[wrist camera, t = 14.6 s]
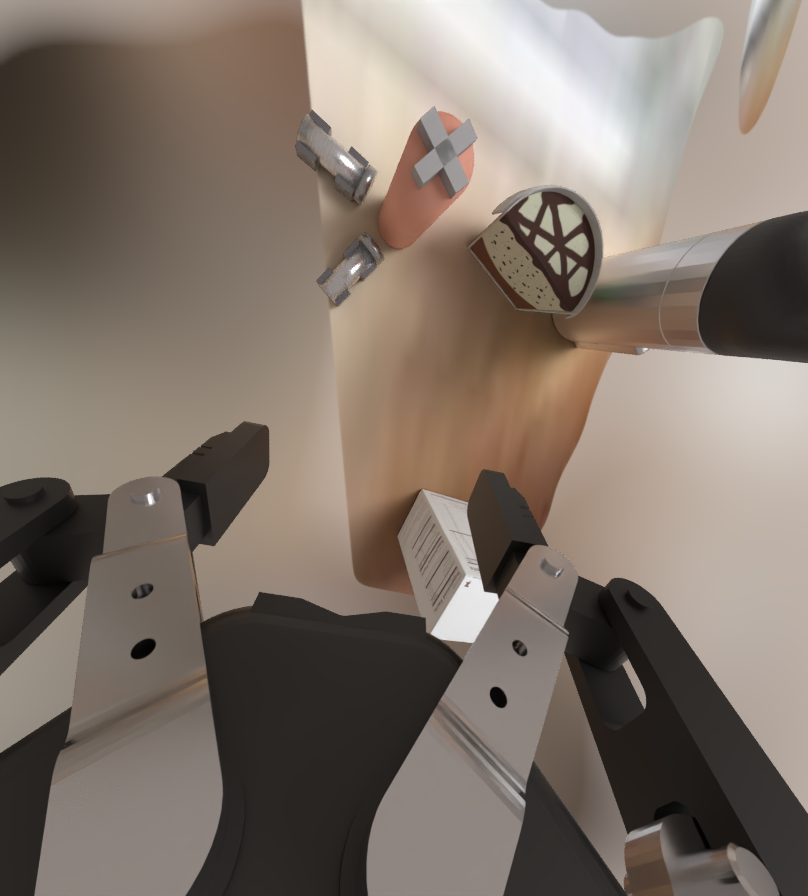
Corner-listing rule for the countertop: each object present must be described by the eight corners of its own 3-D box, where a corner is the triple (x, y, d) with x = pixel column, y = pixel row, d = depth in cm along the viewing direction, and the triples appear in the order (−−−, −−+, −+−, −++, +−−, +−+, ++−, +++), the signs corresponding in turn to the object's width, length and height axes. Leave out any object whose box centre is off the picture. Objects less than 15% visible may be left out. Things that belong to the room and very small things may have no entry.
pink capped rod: (427, 230, 32) (493, 166, 19) (395, 258, 33) (435, 214, 19) (403, 186, 30) (457, 80, 17) (369, 216, 31) (394, 135, 17)
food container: (559, 278, 37) (631, 264, 28) (522, 319, 38) (580, 318, 29) (498, 186, 32) (561, 133, 23) (458, 236, 33) (503, 204, 24)
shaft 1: (375, 179, 30) (379, 165, 27) (359, 209, 30) (361, 198, 28) (312, 121, 27) (309, 100, 25) (296, 155, 28) (292, 138, 25)
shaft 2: (362, 236, 31) (364, 228, 29) (381, 262, 33) (385, 257, 30) (316, 283, 32) (314, 280, 29) (337, 307, 33) (337, 306, 31)
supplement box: (395, 536, 47) (422, 640, 32) (420, 486, 44) (463, 574, 29) (447, 548, 50) (494, 648, 35) (473, 503, 48) (537, 590, 32)
